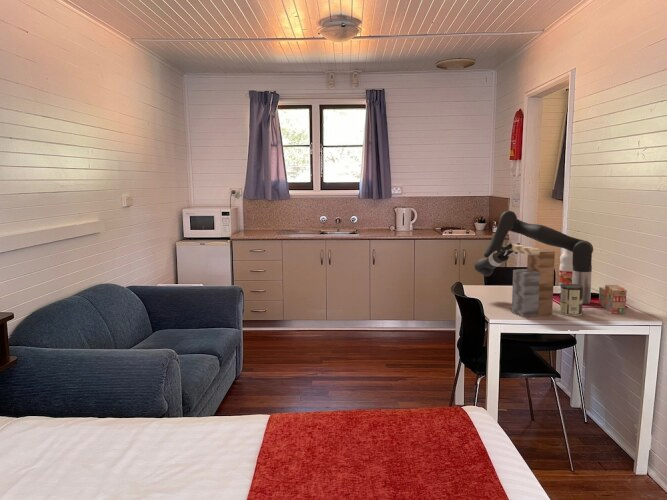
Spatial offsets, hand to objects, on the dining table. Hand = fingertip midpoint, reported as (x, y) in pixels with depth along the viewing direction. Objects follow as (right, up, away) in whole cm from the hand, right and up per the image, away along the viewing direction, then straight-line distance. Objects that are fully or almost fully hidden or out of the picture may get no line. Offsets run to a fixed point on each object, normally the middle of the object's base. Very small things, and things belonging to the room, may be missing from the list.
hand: (515, 245), depth 261 cm
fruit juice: (+49, -27, +50) cm, 75 cm away
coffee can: (+26, -34, -4) cm, 44 cm away
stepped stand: (+7, -35, -4) cm, 35 cm away
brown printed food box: (+51, -33, +4) cm, 61 cm away
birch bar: (+2, -4, -6) cm, 7 cm away
